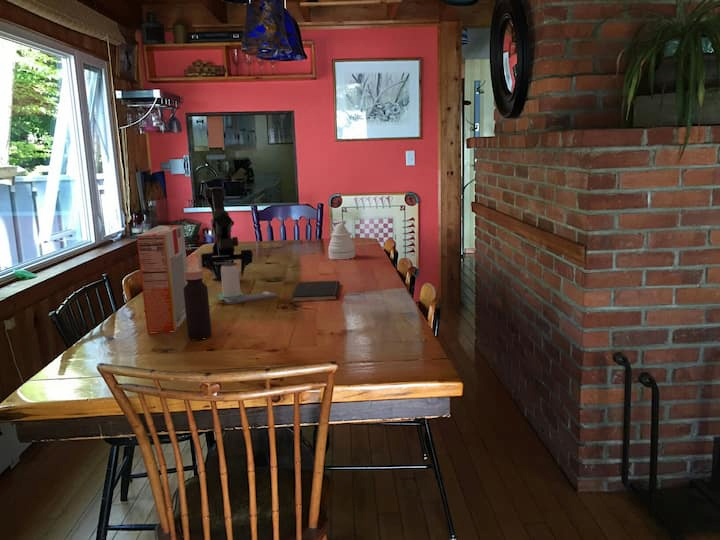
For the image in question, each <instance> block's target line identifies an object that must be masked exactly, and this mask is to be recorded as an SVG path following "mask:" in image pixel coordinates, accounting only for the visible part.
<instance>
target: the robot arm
mask: <svg viewBox="0 0 720 540" xmlns="http://www.w3.org/2000/svg"><path fill="white" fill-rule="evenodd" d="M203 191H204V192H203V193H204V199H205V200H206V203H207V205H208V207H209V208H210V210H211V216H212V219H210V223H211V224H210V225H211V229H213V234H214V243H213V246H212V249H211V252H206V253H205V252H204V253H201V254H200V262H201V268H205V269H206V270H208V271H210V272H211V273H212V275H213V276H214V278H212V280H213V281H220V282H222V280H221V267H222V264H225V263H235V262H234V261H239V260H240V273H241V274H240V275H241V277H244V273H245V269H246V268H247V267H246V266H249V264H251V263H253V256H254V255H253V251H252V249H241V250H240V253H239V254H238V253H237V254H235V247H238V246H239V239H238V236H233V237H232V235H231V234H232V227H233V226H234V225H235V221H234V220H233V219H232V218H231V217H230V213H229V212H228V211H227V210H225V205H224V203H225V199H226V197H227V195H226V194H227V193H226V188H222V187H221V186H219V187H218V186H215V187H207V188H206V189H204V190H203Z"/></svg>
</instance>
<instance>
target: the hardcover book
mask: <svg viewBox="0 0 720 540" xmlns="http://www.w3.org/2000/svg"><path fill="white" fill-rule="evenodd" d="M339 290H340V281H339V280H321V281H320V280H319V281H299V282H298V284H297V286H296V287H295V290H294V291H293V294H292V295H291V298H292V301H293V302H309V301H308V300H314V301H327V300H326V299H337V300H338V296H339ZM337 295H338V296H337ZM305 300H306V301H305Z"/></svg>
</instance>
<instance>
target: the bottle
mask: <svg viewBox="0 0 720 540" xmlns="http://www.w3.org/2000/svg"><path fill="white" fill-rule="evenodd" d="M203 273H204V272H203V269H202V268H201V269H200V268H195V269H194V268H192V269H188V270H187V271H185V277H186V281H187V285H186V286H185V287H184V289H183V291H184V301H185V311H186V319H185V321H186V327H187V330H186V331H187V338H188V339H189V338H190V339H189V340H191V339H203V338H207V337H209V338H211V337H212V336H211V335H212V334H213V333H212V324H211V314H210V301H209V292H208V285H207V284H205V283H204V281H203V279H204V274H203ZM210 336H211V337H210ZM207 339H208V338H207ZM203 340H204V339H203Z"/></svg>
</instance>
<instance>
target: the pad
mask: <svg viewBox="0 0 720 540" xmlns="http://www.w3.org/2000/svg"><path fill="white" fill-rule="evenodd" d="M240 296H245V295H244V293H243V292H242V291H240ZM217 297H218V300H219V302H222V300H224V299H225V297H224V296H223V293H221V294H217ZM238 297H239V296H238Z"/></svg>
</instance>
